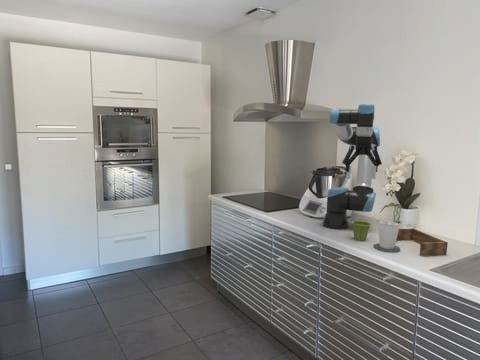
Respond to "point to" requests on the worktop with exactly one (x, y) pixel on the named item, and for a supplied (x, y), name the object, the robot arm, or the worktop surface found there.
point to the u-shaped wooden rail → (424, 242)
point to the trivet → (377, 246)
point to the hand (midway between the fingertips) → (360, 178)
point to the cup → (388, 234)
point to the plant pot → (360, 230)
